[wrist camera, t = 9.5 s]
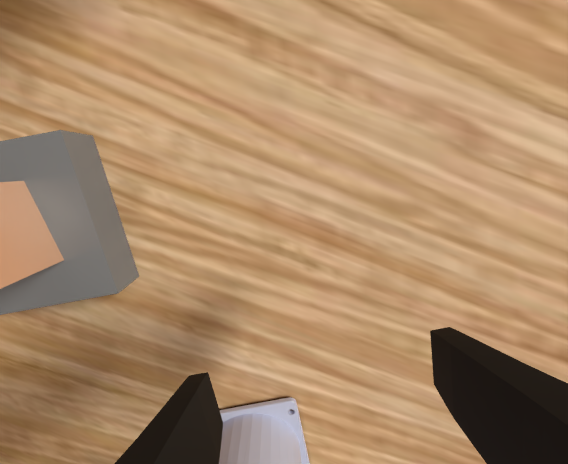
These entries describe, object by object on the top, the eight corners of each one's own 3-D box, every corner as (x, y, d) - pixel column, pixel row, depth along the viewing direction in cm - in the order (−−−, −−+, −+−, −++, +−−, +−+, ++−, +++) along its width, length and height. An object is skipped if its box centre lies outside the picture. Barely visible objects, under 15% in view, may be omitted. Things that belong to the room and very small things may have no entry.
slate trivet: (142, 273, 19) (118, 293, 16) (14, 297, 19) (-34, 321, 16) (98, 136, 17) (60, 129, 14) (-47, 163, 17) (-115, 163, 14)
